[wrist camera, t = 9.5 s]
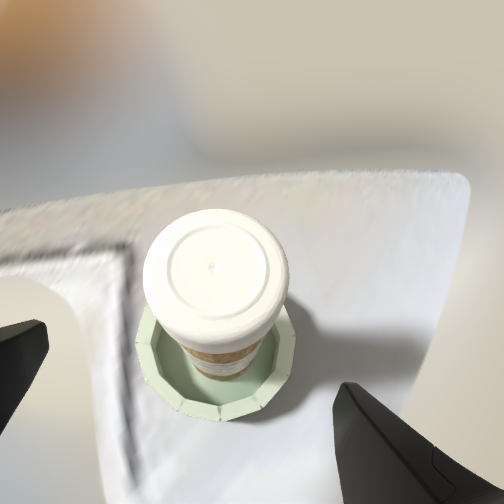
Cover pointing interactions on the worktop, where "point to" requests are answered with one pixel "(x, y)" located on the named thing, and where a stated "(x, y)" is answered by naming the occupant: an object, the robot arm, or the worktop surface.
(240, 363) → the sprinkles bottle
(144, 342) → the dish
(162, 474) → the worktop surface
